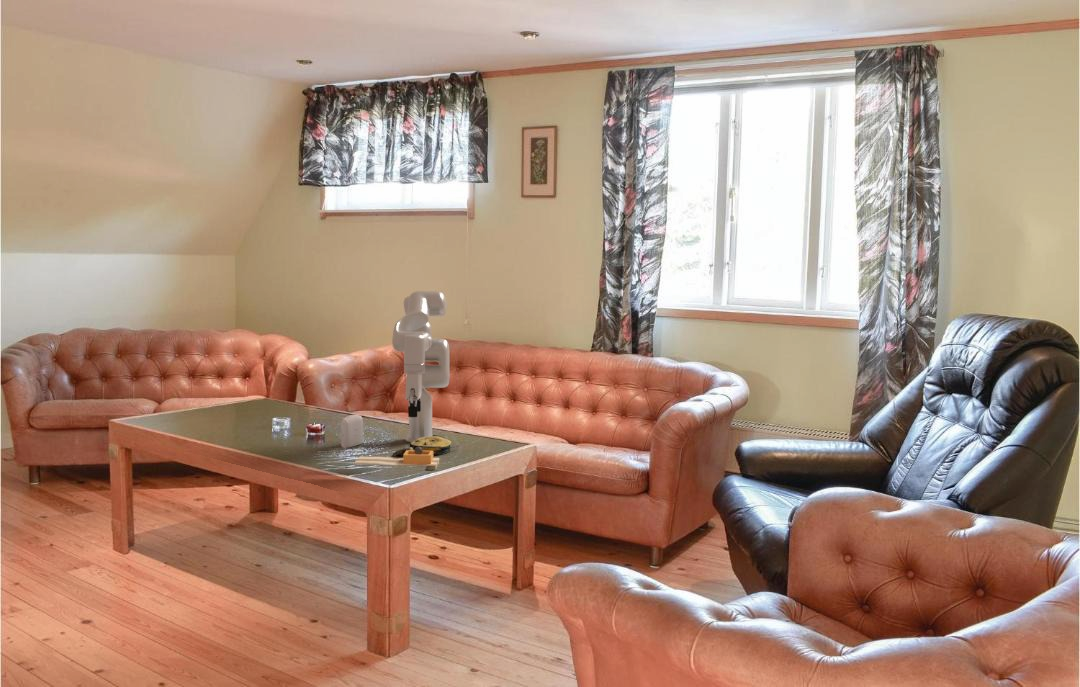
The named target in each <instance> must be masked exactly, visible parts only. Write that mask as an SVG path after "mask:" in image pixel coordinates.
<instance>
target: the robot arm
mask: <svg viewBox="0 0 1080 687" xmlns="http://www.w3.org/2000/svg"><path fill="white" fill-rule="evenodd" d="M447 303H448V302H447V298H446V296H445V294H444V293H443V292H441V291H437V290H434V291H433V290H417V291H414V292H412V293H411V294H410V295H409V296H407V297H404V300H403V309H404V312H405V313H404V314H405V315H403V316H402V317H401V318H400V319H398V320H397V321H396V323H395V324H394V327H393V330H392V339H391V340H392V341H391V343H392V348H393V350H395V351H396V352H402V353H403V373H404V374H406V375H405V376H406V377H405V397H404V398H405V400H406V401H408V407H407V409H408V410H407V414H408V435H407V436H406V437H405V436H404V437H405V438H404V441H406V442H407V443H409V444H410V443H411V442H412V441H414V440H416V439H418V438H421V437H427V436H433V435H434V434H433V397H432V395H431V394H430V392H429V391H428V390H427V389H430V388H431V389H432V388H437V389H439V388H442V389H443V388H446V387H448V386H449V385H450V378H451V375H450V363H451V362H450V359H451V358H450V344H449V342H448V341H447V339H445V338H439V337H438V338H435V337H434V338H432V325H431V323H430V322H429V319H430V317H443V316H445V314H446V312H447V308H448V304H447ZM426 362H437V363H438V364H426Z"/></svg>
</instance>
